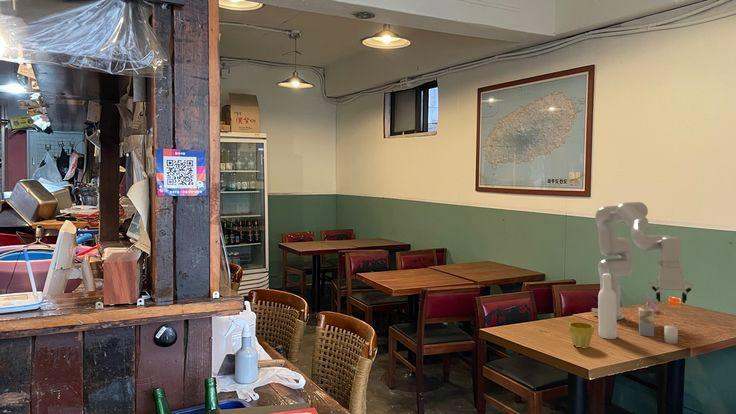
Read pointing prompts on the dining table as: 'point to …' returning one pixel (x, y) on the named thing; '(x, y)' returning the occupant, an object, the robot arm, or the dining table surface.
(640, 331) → the tower base
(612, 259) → the robot arm
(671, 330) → the cylinder
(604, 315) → the bottle
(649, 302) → the lily
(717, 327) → the dining table surface
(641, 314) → the tower top
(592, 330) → the plant pot
